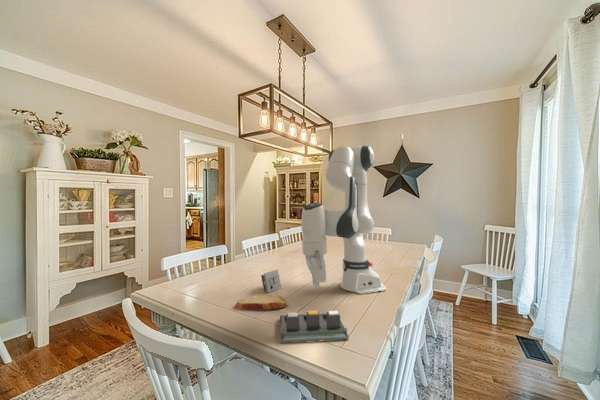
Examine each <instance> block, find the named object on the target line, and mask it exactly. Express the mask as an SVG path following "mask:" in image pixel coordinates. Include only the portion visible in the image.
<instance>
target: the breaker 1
mask: <svg viewBox="0 0 600 400" xmlns="http://www.w3.org/2000/svg"><path fill="white" fill-rule="evenodd" d="M298 314H299V312H287V313H286V315H287V319H286V329H287V331H295V330H299V315H298Z"/></svg>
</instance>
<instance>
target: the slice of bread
mask: <svg viewBox="0 0 600 400" xmlns="http://www.w3.org/2000/svg"><path fill="white" fill-rule="evenodd" d="M286 307H288V303H287V301H286V300H285V298H284V297H282V296H281V295H278V294H270V293H269V294H260V295H256V296H255V295H253V296H249V297H245V298H241V299H240V300H238V301H237V302H236V303H235V305H234V308H235V309H236V310H242V311H243V310H244V311H274V310H281V309H284V308H285V309H286Z"/></svg>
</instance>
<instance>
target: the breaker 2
mask: <svg viewBox="0 0 600 400" xmlns="http://www.w3.org/2000/svg"><path fill="white" fill-rule="evenodd" d="M326 313H327V329H336V328H340V320H341V314H340V313H339V311H338V310H329V311H327V312H326Z"/></svg>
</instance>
